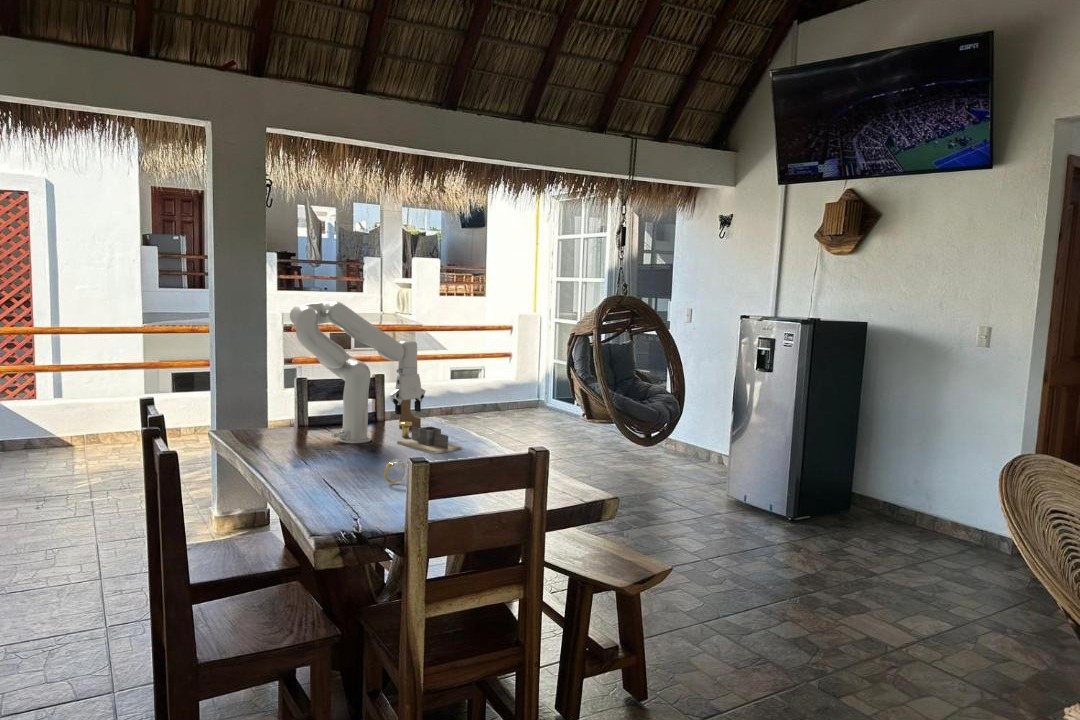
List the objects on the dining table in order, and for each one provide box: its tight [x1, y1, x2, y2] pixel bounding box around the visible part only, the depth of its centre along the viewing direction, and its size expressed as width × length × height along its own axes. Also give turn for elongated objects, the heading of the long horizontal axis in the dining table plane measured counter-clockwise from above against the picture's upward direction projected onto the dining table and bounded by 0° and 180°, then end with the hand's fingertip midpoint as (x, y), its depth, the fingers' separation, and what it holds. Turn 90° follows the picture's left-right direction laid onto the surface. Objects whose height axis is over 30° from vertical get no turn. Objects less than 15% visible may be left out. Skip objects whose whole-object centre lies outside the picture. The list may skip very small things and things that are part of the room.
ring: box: [383, 458, 408, 485], centre depth 227 cm, size 7×3×8 cm, turn 105°
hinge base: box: [396, 426, 463, 455], centre depth 281 cm, size 14×22×7 cm, turn 48°
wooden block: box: [398, 399, 422, 430], centre depth 314 cm, size 9×4×18 cm, turn 103°
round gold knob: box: [398, 421, 412, 439], centre depth 296 cm, size 5×5×6 cm
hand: (408, 412), depth 296 cm, fingers open, 9 cm apart
